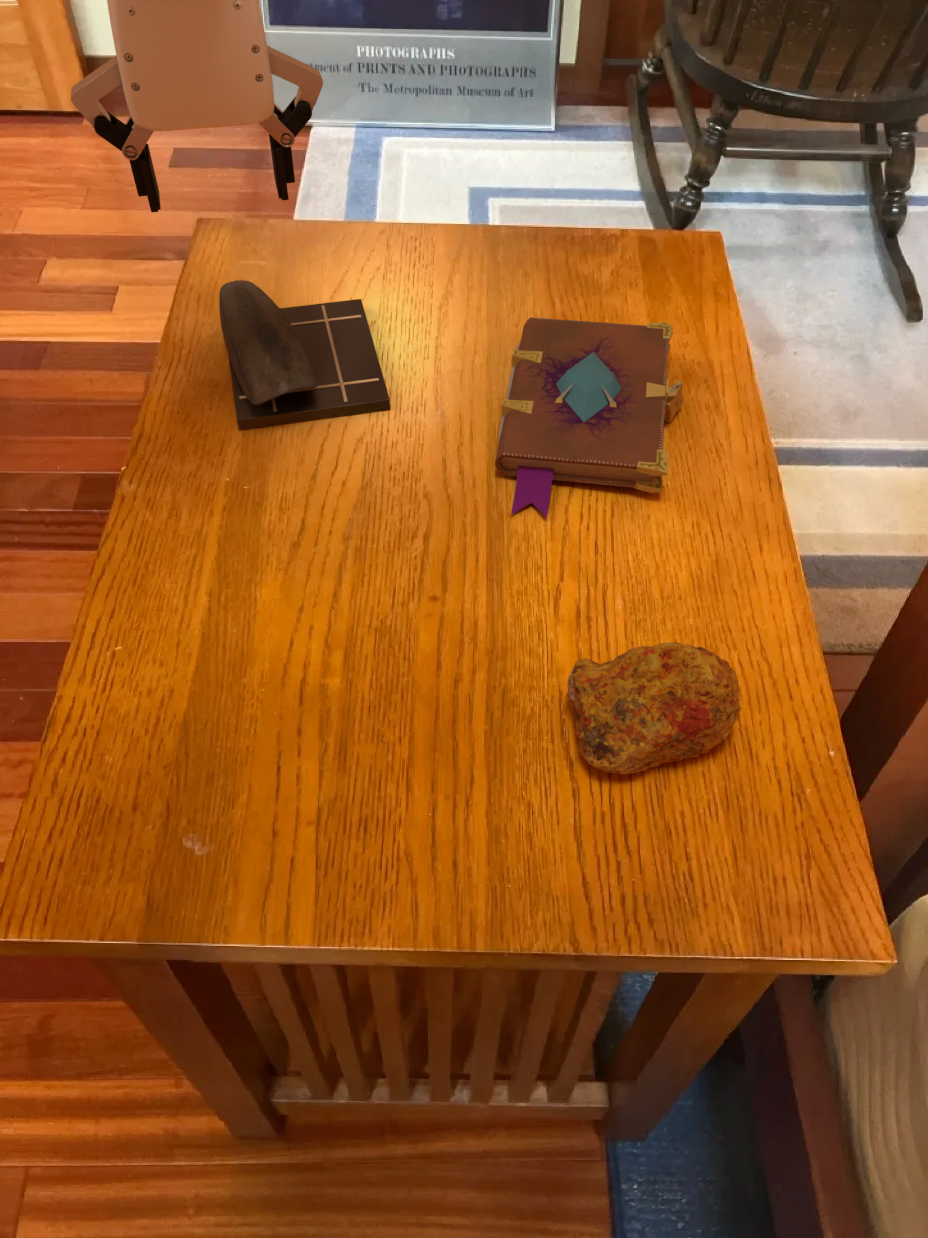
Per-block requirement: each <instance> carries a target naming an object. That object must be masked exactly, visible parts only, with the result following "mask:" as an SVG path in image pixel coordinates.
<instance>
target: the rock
mask: <svg viewBox="0 0 928 1238" xmlns="http://www.w3.org/2000/svg"><path fill="white" fill-rule="evenodd" d="M736 672H737V671H736V670H734V669H733V667H732V666H731V665H730V663H729V662H728V661H727V660H726V659H725V658H721V656H720V655H717V654H716V653H715V652H713V651H711V650H708V649H707V648H705V647H703V646H697V647H695V645H692V644H686V643H681V642H673V641H671V642H661V643H658V644H655V645H652V646H651V645H649V646H647V645H643V646H636V647H633V648H629V649H628V650H627V651H625V652H623V653H621V654H619V655H617V656H616V657H615V658H614V659H613V660H608V661H606V662H602V663H599V662H596V661H594V660H592V659H590V658H588V657H587V658H586V657H585V658H581V659H579V660H577V661H575V663H574V665H573V667H572V669H571V671H570V673H569V675H568V678H567V692H566V697H567V698H568V700H569V702H570V704H571V706H572V714H573V716H574V717H575V733H574V734H575V736H576V738H578V739H579V740H578V741H579V747H578V752H579V754H580V755H581V756H582V758H583V759H584V760H585V762H586V763H587V764H588V765H589V766H591V767H592V768H594V769H596V770H598V771H602V772H604V773H609V774H615V775H617V774H618V775H623V776H624V775H631V774H636V773H641V772H646V771H648V770H650V768H657V767H658V766H660V765H663V764H669V763H673V762H680V761H682V760H684V759H692V758H697V757H698V756H699V755H703V754H706V753H708V752H709V751H710V750H712V749H713V748H714V747H716V746H717V745H720V744H721V743H722V742H724V741H725V740H726V738H727V737H728V735H729V734H730V733H731V731H732V729H733V726H734V725H736V723H737V721H738V719H739V715H740V712H741V711H742V709H743V708H742V707H741V705H740V701H741V698H740V688H739V679H738V678H737V676H738V675H737V673H736Z"/></svg>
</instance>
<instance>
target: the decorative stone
mask: <svg viewBox="0 0 928 1238" xmlns="http://www.w3.org/2000/svg"><path fill="white" fill-rule="evenodd" d="M218 305H219V306H218V308H219V309H218V310H219V319H220V321H219V322H220V326H221V327H220V328H221V332H222V336H223V340H224V344H225V347H226V351H227V355H228V354H229V357H230V360H231V363H232V366H233V368H234V371H235V373H236V376H237V378H238V381H239V383H240V385H241V387H242V389H243V392H244V393H245V395H246V397H247V398H248V399H249V401H250V402H251V403H252V404H253V405H260V404H263V403H265V402H267V401H270V400H272V399H274V398H276V397H278V396H280V395H283V394H286V393H289V392H293V391H297V390H300V389H312V388H316V387H317V386H318V383H317V381H316V378H315V375H314V373H313V370H312V368H311V365H310V363H309V360H308V358H307V356H306V354H305V352H304V349H303V347H302V345H301V343H300V341H299V338H298V336H297V334H296V332H295V331H294V329H293V327H292V325H291V324H290V322H289V320H288V319H287V318H286V316H285V315H284V313H283V312H282V311H281V309H280V308H281V307H280V306H278V305H277V304H276V302H275V301H274V300H273V299H272V298H271V297H270V296H269V295H268V294H267V293H266V292H265V291H264V290H262V289H261V288H260V287H259V286H258V285H256V284H255V283H254V282H252V281H249V280H243V279H241V280H240V279H239V280H237V279H236V280H233V281H229V282H226V283H224V284H223V285H222V286H221V287H220V288H219V295H218ZM229 357H228V358H229Z"/></svg>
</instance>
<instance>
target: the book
mask: <svg viewBox="0 0 928 1238" xmlns="http://www.w3.org/2000/svg"><path fill="white" fill-rule="evenodd" d="M673 332H674V325H673V324H671V323H667V322H665V321H664V322H647V324H646V325H643V324H628V323H617V322H616V323H615V322H604V321H603V322H602V321H590V320H589V321H587V320H574V319H559V318H558V319H557V318H548V317H547V318H546V317H545V318H544V317H532V316H531V317H529V318H528V319H527V320H526V321H525V322H524V324H523V327H522V333H521V338H520V341H519V342H518V344H517V347H516V349H512V354H511V373H510V378H509V382H508V387H507V391H506V395H505V396H506V397H505V399H502V401H501V405H500V406H501V408H500V409H501V410H500V411H501V412H500V413H501V420H500V424H499V428H498V429H499V430H498V440H497V444H498V447H497V451H496V456H495V464H494V466H495V468H496V469H497V471H498V472H499V473H500V474H501V475H502V476H508V477H509V476H510V477H516V482H515V488H514V496H513V502H512V507H511V513H510V515H513V514H516V513H517V512H518V511H520V510H522V509H524V508H525V507H528V506H529V505H530V504H532V506H534V507H535V508H536V509H537V510H538V511H539V512H540V513H541V514H542V515H543V516H544V517H545V518H546V519H548V514H549V507H550V500H551V493H552V486H553V481H561V482H562V481H563V482H573V483H581V484H582V483H584V484H593V485H601V486H602V485H604V486H614V487H625V488H633V489H636V490H639V491H642V492H647V493H650V494H656V493H662V492H663V483H664V482H663V481H664V480H663V477H664V476H668V474H669V458H668V453H667V450H666V449H663V447H664V429H665V428H664V427H665V422H666V423H669V424H671V422H672V421H673V419H674V418H675V416H676V415H677V412H678V411H679V409H680V408H681V406H682V404H683V402H684V398H683V381H681V380H678V379H677V380H676V381H675V383H674V384H673V385H672V386H669V383H670V380H669V379H667V374H668V357H669V355H670V349H671V343H670V341H671V339H672V336H673Z"/></svg>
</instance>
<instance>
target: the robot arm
mask: <svg viewBox="0 0 928 1238" xmlns="http://www.w3.org/2000/svg"><path fill="white" fill-rule="evenodd" d="M106 4H107V11H108V16H109V22H110V28H111V29H110V30H111V33H112V40H113V46H114V50H115V55H114V56H113V57H112V58H110V59H109V60H108V61H106V62H105V63H103V64H102V65H100V66H99V67H97V68H96V69H94V70H93V71H91V73H89V74H87V75H86V76H85V77H83V78H82V79H80V80H79V81H77V82H76V83H75V84H73V85H72V86H71V89H70V100H71V103H72V104H73V105H74V107H75V108H76V110H78V112H79V113H80V115H82V116H83V117H84V118H85V120H86V121H87V122H88V123H89V124H90V125H91V127H93V129H94V132H95V133H96V134H97V136H99V137H101V138H102V139H103V140H105V142H107V143H108V144H110V145H111V146H113V147H114V148H116V149H117V150H119V151H120V152H121V153H122V156H123V157H124V158H125V159H126V160H128V161H129V165H130V169H131V172H132V176H133V180H134V185H135V188H136V189H135V190H136V193H137V196H138V197H147V200H148V205H149V209H150V212H151V213H159V211H161V209H162V208H161V197H160V190H159V185H158V180H157V175H156V172H155V168H154V164H153V163H154V162H153V159H152V155H151V154H152V153H151V150H150V146H149V144H148V142H149V140H150V138H151V137H152V135H153V133H154V132H174V131H187V130H188V131H190V130H202V129H213V128H214V129H215V128H225V127H226V128H227V127H239V126H248V125H254V124H259V125H260V126H261V127H262V128H263V129H264V130H265V131H266V132H267V133H268V138H269V147H270V154H271V155H270V156H271V162H272V169H273V177H274V183H275V188H276V192H277V196H278V199H279V200H281V201H289V191H288V184H294V183H296V176H295V168H294V160H293V159H294V158H293V151H292V146H293V145H294V144H295V141H296V137H297V136H298V135H299V134H300V132H301V131H302V130H303V128H305V126H306V124H308V122H309V121H310V120H311V119H312V117H313V111H314V108H315V106H316V104H317V101H318V99H319V96H320V93H321V91H322V89H323V87H324V80H323V76H322V74H321V71H320V70H319V69H318V68H316V67H314V66H312V65H310V64H308V63H306V62H303V61H301V60H299V59H297V58H295V57H293V56H291V55H288V54H286V53H284V52H282V51H280V50H277V49H275V48H274V47H271V46H270V45H268V44H267V37H266V32H265V27H264V21H263V16H262V10H261V5H260V1H259V0H106ZM272 75H274V76H275V77H278V78H280V79H282V80H284V81H286V82H289V83H290V84H293V85H295V86H297V87H298V88H297V91H296V92H297V93H296V95H295V96H294V98H292V99H291V101H290V103H289V104H288V106H287V107H286V108H285V109H284V110H282V109H281V108H280V107H279V106H278V105H277V103H276V102H275V95H274V94H275V93H274V83H273V76H272ZM120 86H122V89H123V94H124V98H125V102H126V105H127V110H128V112H129V116H128V117H127V119H126V120H125V122H123V121H121V120H120V119H119V118H117V117H116V116H115V115H114V114H112V113H110V112H109V111H108V110H106V109H105V107H103V104H102V103H101V102H100V100H101V99H102V98H103V99H104V97H106V96H107V95H108V94H110V93H111V92H113V91H115V90H116V89H117V88H119V87H120Z"/></svg>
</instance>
